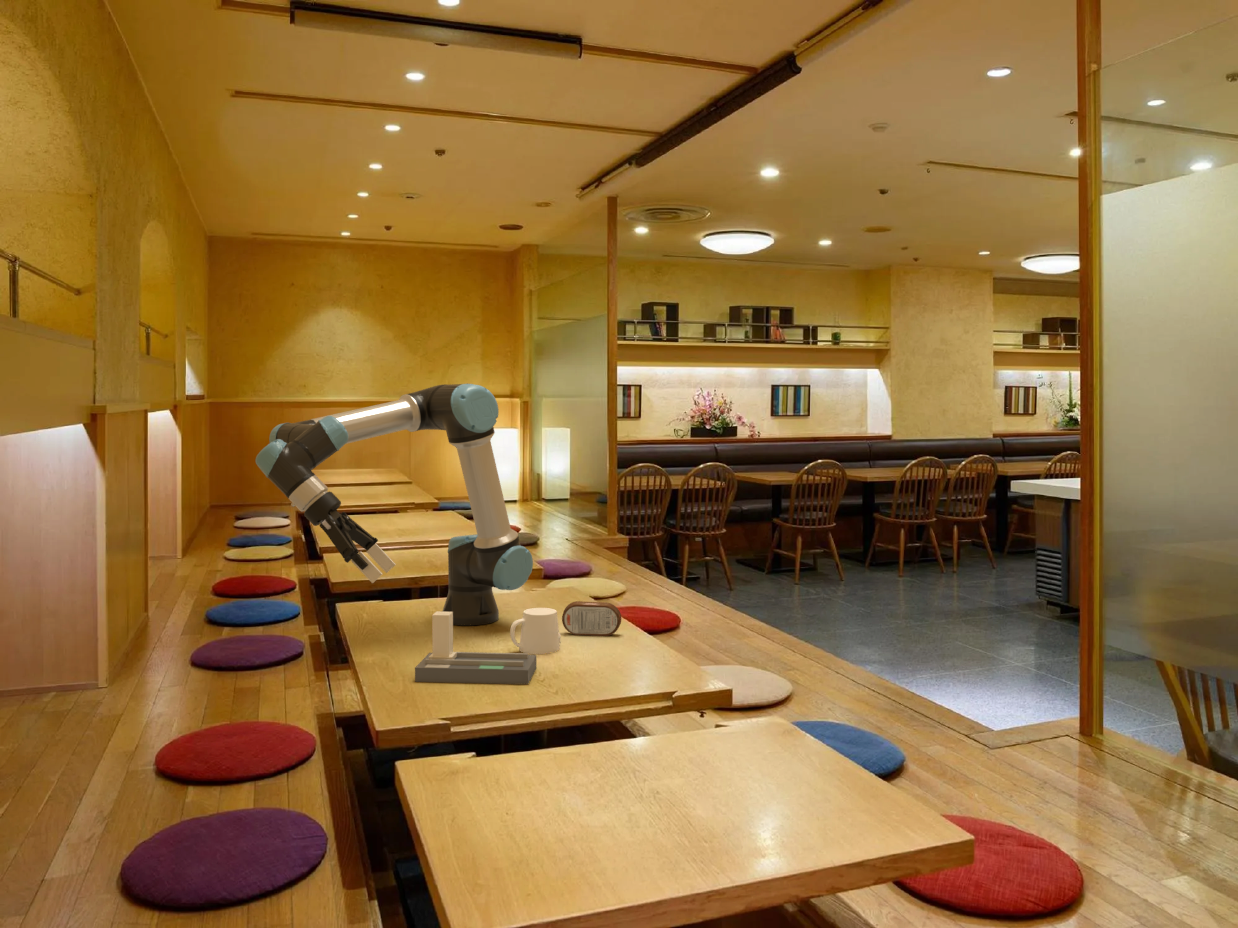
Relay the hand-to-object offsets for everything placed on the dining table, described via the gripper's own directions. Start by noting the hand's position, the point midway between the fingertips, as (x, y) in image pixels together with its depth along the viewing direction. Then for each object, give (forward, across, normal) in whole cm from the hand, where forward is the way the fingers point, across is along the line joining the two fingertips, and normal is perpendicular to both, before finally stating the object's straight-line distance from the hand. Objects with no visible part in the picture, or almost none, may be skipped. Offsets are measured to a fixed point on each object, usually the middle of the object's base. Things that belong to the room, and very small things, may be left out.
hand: (384, 573), depth 205 cm
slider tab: (+22, 0, -4) cm, 22 cm away
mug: (+37, -19, +8) cm, 43 cm away
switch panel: (+30, +1, 0) cm, 30 cm away
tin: (+46, -34, +18) cm, 60 cm away
